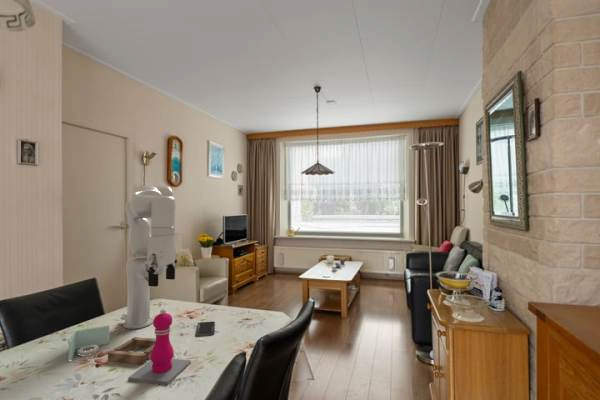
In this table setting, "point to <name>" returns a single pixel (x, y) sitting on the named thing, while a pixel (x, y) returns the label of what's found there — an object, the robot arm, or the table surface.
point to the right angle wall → (88, 340)
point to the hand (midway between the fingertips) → (162, 282)
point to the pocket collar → (125, 356)
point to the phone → (205, 329)
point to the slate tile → (159, 378)
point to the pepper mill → (162, 343)
